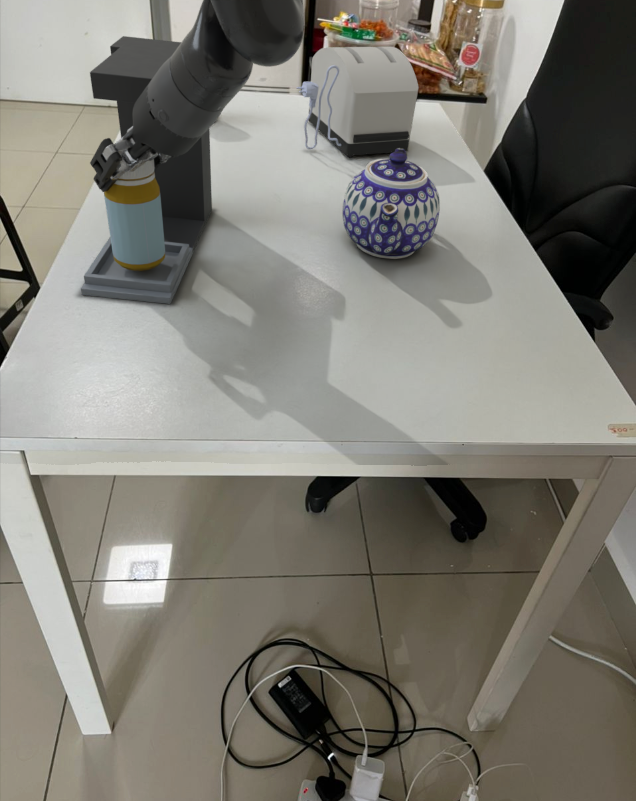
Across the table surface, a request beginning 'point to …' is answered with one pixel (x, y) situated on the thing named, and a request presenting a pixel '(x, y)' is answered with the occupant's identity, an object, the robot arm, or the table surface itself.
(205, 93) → the robot arm
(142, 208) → the bottle
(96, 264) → the coffee maker
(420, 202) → the teapot
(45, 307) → the table surface
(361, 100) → the toaster
